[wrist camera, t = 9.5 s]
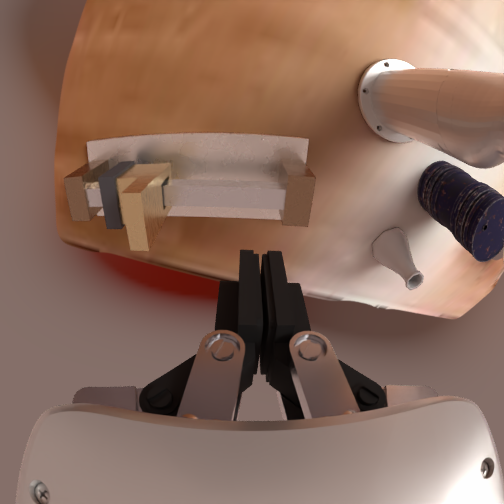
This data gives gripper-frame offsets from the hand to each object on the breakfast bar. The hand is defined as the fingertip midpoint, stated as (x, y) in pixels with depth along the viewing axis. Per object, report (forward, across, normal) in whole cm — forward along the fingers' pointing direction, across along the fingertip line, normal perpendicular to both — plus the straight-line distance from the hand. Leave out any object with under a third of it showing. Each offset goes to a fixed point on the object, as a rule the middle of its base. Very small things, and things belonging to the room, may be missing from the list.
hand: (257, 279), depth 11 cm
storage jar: (+27, -32, +2) cm, 42 cm away
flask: (+27, -25, +14) cm, 40 cm away
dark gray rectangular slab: (+23, +15, +4) cm, 28 cm away
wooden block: (+23, +12, +4) cm, 26 cm away
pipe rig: (+27, +8, +4) cm, 29 cm away
